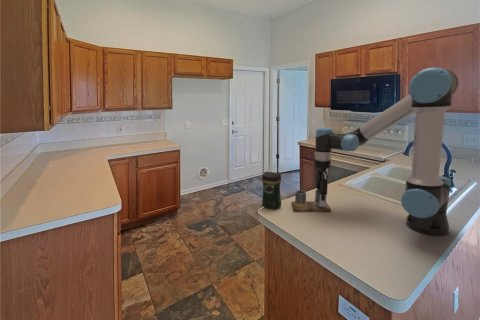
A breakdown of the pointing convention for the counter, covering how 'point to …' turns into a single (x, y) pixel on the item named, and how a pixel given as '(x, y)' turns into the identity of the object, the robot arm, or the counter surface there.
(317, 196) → the grey octagonal sleeve
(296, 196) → the sleeve ochre
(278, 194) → the coffee jar
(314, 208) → the pin board
